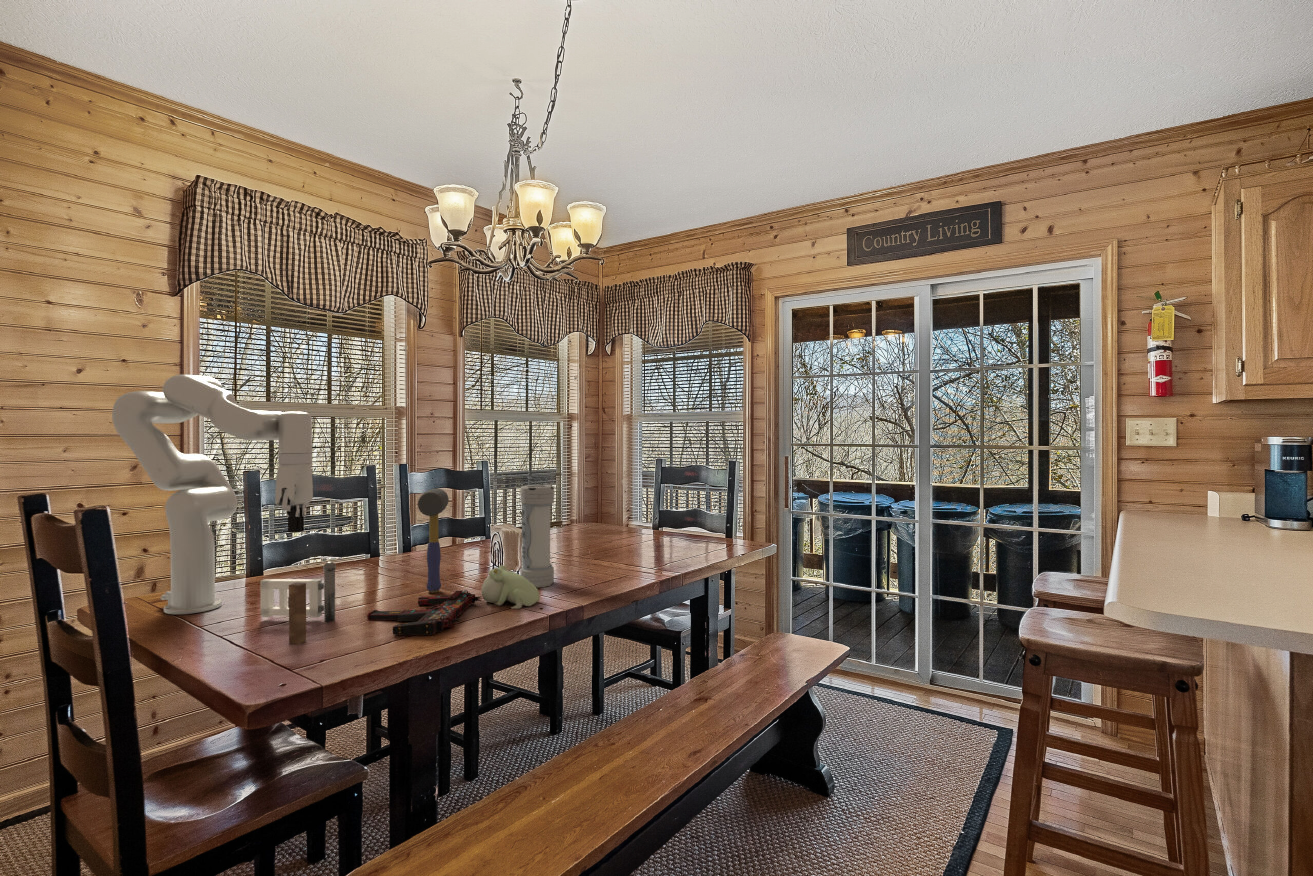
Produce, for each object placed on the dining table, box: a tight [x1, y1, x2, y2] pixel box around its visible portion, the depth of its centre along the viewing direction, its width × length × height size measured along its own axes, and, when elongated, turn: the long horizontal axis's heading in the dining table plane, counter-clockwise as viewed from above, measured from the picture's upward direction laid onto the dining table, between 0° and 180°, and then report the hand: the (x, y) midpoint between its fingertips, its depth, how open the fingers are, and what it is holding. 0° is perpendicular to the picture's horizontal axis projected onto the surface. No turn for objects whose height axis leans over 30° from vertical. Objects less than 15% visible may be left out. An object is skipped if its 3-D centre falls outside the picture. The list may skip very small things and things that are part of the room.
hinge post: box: [322, 561, 337, 623], centre depth 165 cm, size 3×3×15 cm
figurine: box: [480, 564, 540, 610], centre depth 182 cm, size 10×16×10 cm, turn 74°
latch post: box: [287, 583, 307, 645], centre depth 148 cm, size 3×2×13 cm
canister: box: [520, 484, 555, 589], centre depth 204 cm, size 10×10×30 cm
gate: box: [259, 578, 324, 619], centre depth 165 cm, size 2×15×9 cm, turn 90°
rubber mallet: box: [417, 488, 450, 593], centre depth 193 cm, size 12×8×30 cm, turn 9°
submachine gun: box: [366, 589, 483, 636], centre depth 170 cm, size 34×4×25 cm
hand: (295, 531), depth 171 cm, fingers closed
